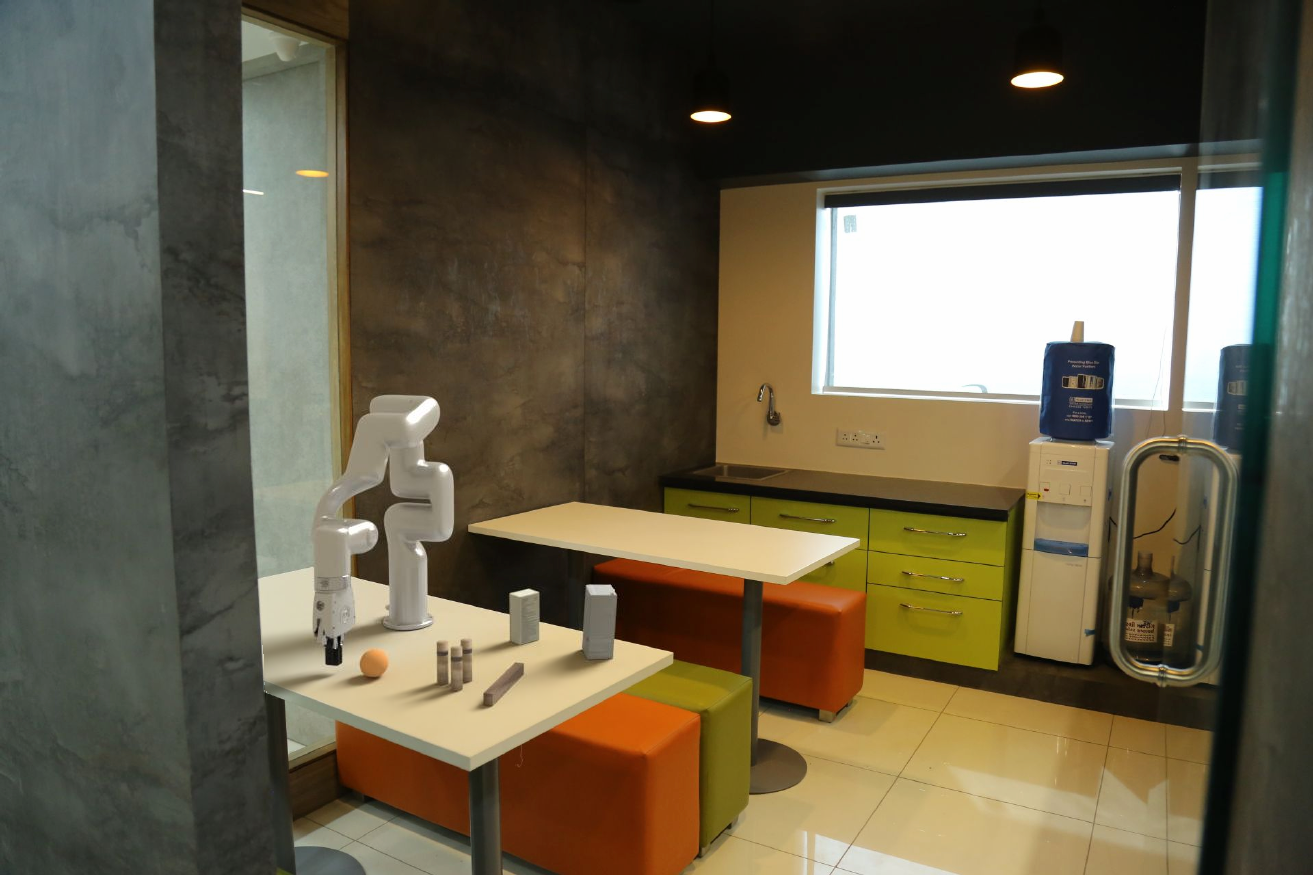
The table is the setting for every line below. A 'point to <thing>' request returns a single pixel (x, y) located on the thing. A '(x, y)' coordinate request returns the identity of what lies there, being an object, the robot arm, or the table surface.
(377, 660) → the ball
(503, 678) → the back wall
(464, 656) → the back pin left
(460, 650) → the back pin right
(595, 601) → the skincare box
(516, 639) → the skincare box
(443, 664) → the front pin
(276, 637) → the table surface
